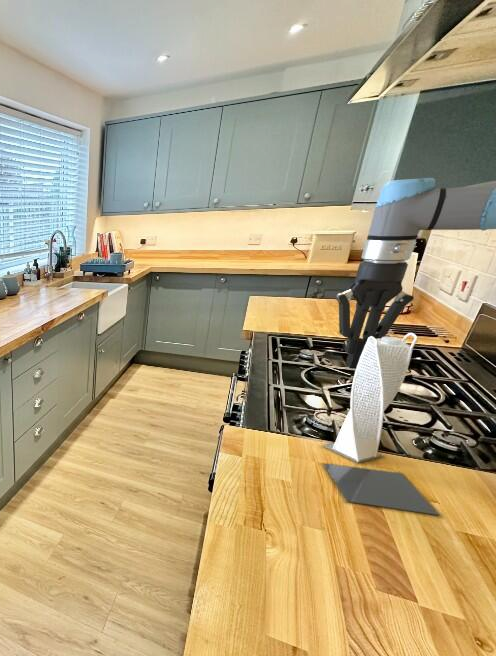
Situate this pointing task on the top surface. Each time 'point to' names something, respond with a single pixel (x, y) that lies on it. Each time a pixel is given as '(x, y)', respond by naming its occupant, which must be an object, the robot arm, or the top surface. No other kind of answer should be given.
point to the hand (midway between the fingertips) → (351, 366)
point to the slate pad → (378, 489)
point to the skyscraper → (372, 396)
